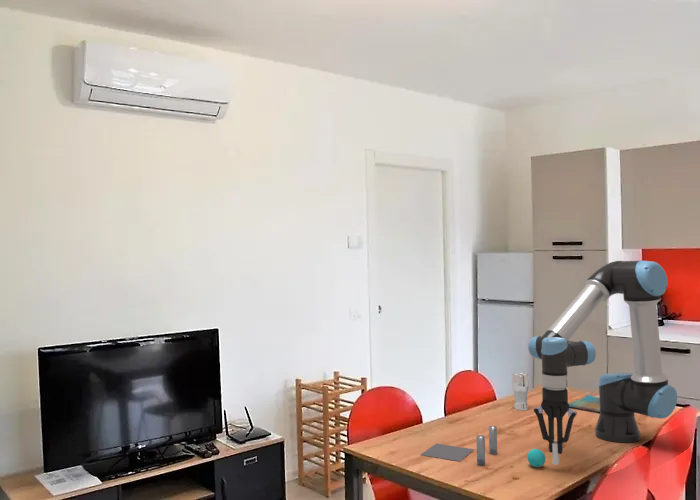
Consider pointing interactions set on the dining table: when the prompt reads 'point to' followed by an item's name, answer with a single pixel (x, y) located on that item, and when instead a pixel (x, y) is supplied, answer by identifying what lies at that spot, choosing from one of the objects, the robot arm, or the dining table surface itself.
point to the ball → (536, 458)
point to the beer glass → (520, 390)
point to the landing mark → (447, 452)
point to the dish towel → (587, 404)
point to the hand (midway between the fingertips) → (556, 463)
